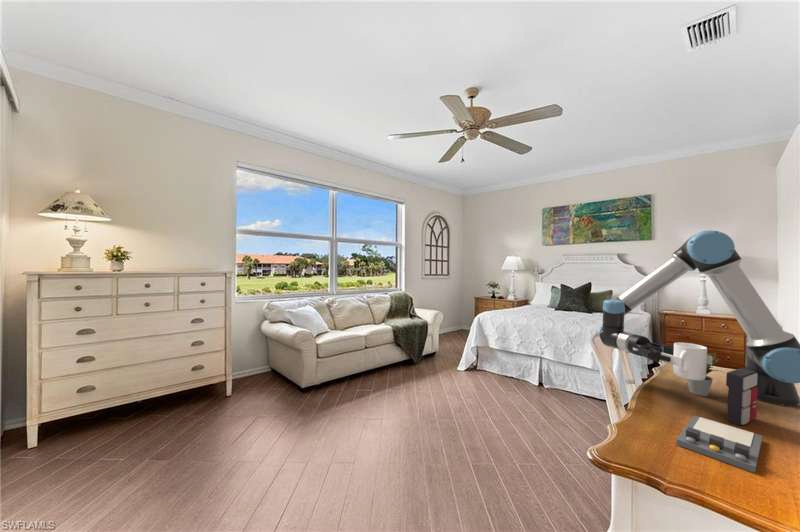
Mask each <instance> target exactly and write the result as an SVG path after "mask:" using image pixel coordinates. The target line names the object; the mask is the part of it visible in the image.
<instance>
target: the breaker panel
mask: <svg viewBox="0 0 800 532" xmlns="http://www.w3.org/2000/svg"><path fill="white" fill-rule="evenodd" d="M762 443H763V435H762V434H761V435H760V434H758V433H755V432H752V431H748V430H745V429H741V428H740V427H739V428H738V427H735V426H732V425H728V424H725V423H721V422H718V421H715V420H712V419H708V418H705V417H700V416H698V415H693V416H692V417H691V418H690V420H689V421H688V422H687V424H686V426H684V428H683V429H682V430H681V432H680V434H679V435H678V436H677V438H676V446H678V447H681V448H683V449H687V450H690V451H693V452H695V453H698V454H701V455H704V456H706V457H709V458H711V459H715V460H718V461H721V462H723V463H725V464H728V465H731V466H733V467H737V468H739V469H743V470H745V471H748V472H750V473H753V474H756V470H757V466H758V462H759V456H760V451H761V447H762Z"/></svg>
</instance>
